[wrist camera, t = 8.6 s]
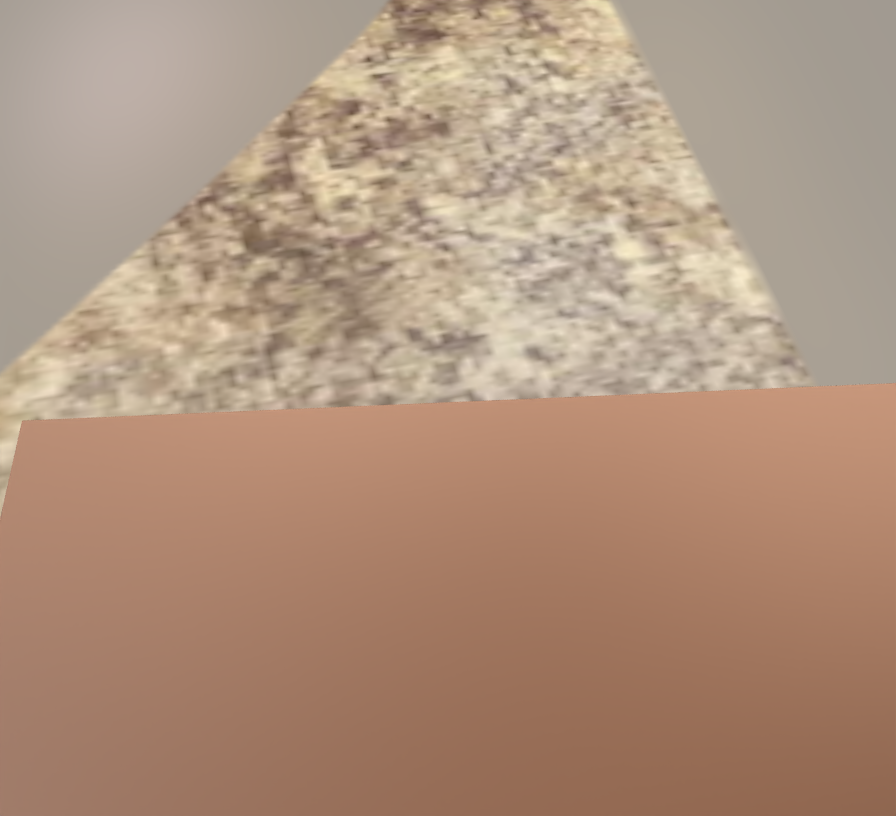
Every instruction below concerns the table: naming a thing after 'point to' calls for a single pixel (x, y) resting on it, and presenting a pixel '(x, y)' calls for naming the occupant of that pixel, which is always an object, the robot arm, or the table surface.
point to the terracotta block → (456, 609)
